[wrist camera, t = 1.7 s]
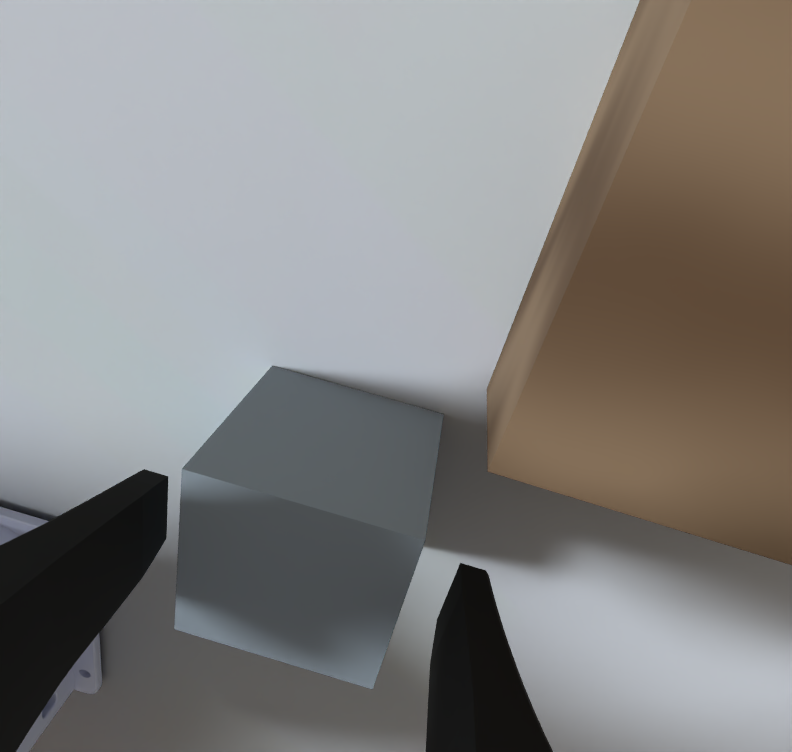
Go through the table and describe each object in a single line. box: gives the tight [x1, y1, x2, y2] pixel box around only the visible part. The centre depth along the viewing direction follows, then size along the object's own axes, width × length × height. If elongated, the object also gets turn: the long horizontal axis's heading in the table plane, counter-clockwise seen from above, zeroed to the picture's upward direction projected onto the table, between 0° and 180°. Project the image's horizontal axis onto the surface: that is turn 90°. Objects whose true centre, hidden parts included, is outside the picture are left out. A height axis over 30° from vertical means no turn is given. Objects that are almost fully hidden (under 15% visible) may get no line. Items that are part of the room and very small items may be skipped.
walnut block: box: [487, 0, 792, 565], centre depth 10 cm, size 9×9×4 cm
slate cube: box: [174, 366, 444, 689], centre depth 14 cm, size 5×5×5 cm
